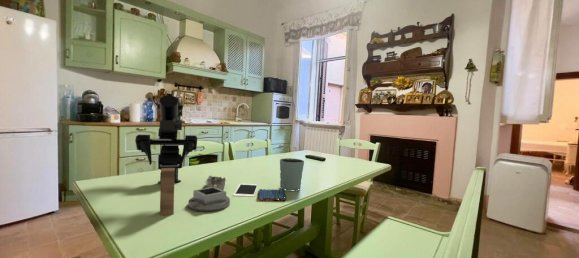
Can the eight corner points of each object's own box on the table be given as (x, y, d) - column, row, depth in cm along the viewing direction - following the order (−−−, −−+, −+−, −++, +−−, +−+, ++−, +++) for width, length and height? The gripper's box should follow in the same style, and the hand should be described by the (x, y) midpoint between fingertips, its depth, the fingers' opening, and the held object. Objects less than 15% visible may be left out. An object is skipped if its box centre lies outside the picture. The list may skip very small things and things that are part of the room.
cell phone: (232, 197, 94) (232, 195, 94) (240, 185, 111) (240, 183, 110) (253, 197, 95) (254, 196, 95) (258, 185, 111) (258, 184, 111)
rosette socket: (181, 203, 84) (181, 189, 84) (216, 195, 94) (217, 183, 94) (200, 215, 75) (200, 200, 75) (237, 205, 85) (237, 192, 85)
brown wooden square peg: (160, 210, 77) (161, 168, 77) (173, 209, 79) (174, 167, 78) (159, 215, 74) (160, 171, 73) (173, 214, 76) (174, 170, 75)
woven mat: (257, 193, 101) (257, 188, 101) (284, 194, 102) (284, 189, 101) (256, 202, 90) (256, 196, 90) (286, 203, 91) (286, 197, 91)
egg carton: (223, 191, 100) (224, 181, 100) (203, 191, 99) (204, 181, 99) (226, 183, 111) (227, 174, 110) (208, 183, 110) (209, 174, 109)
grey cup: (273, 188, 107) (275, 159, 106) (287, 183, 115) (289, 157, 115) (293, 193, 101) (295, 163, 101) (307, 188, 110) (308, 160, 109)
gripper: (136, 109, 83) (129, 149, 73) (197, 112, 90) (198, 149, 81) (140, 131, 91) (134, 169, 81) (196, 132, 98) (196, 167, 89)
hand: (166, 163), depth 83 cm, fingers open, 9 cm apart
